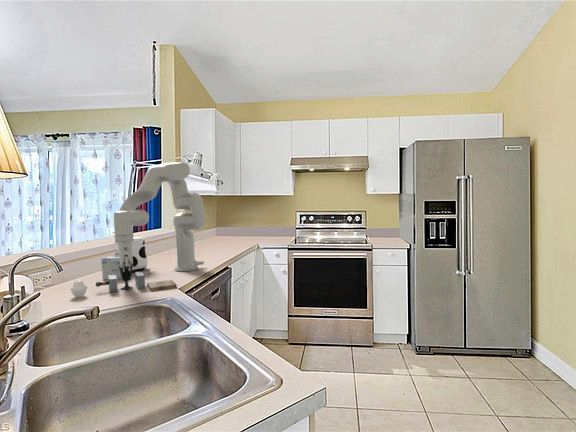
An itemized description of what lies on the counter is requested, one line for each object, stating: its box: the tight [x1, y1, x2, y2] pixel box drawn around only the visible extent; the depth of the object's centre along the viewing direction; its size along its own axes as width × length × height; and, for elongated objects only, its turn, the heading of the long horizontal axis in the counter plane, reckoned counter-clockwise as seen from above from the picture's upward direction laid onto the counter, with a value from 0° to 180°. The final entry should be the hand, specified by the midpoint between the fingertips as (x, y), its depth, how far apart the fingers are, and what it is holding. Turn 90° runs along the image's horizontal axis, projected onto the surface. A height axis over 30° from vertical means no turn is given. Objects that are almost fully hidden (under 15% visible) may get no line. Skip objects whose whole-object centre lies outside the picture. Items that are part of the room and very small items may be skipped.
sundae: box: [118, 262, 134, 291], centre depth 171 cm, size 7×7×15 cm
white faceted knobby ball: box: [69, 279, 88, 299], centre depth 159 cm, size 6×6×7 cm
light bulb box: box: [101, 255, 123, 280], centre depth 196 cm, size 11×7×11 cm, turn 84°
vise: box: [95, 271, 146, 294], centre depth 170 cm, size 20×10×6 cm, turn 117°
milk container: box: [114, 236, 149, 272], centre depth 214 cm, size 17×17×18 cm
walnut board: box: [146, 279, 178, 292], centre depth 172 cm, size 11×11×2 cm
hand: (126, 278), depth 171 cm, fingers closed on sundae, 4 cm apart
